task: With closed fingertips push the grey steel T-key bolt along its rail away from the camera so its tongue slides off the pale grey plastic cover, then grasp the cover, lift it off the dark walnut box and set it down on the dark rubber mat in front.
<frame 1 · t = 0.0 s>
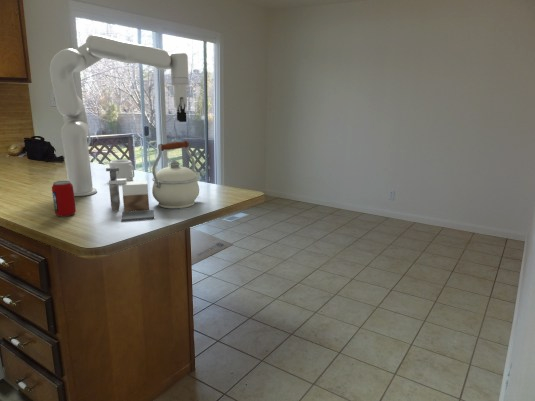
hand: (181, 121, 176), 31 cm above the countertop, fingers open, 9 cm apart
mat: (138, 216, 138), on the countertop
cover: (135, 193, 147), point 6 cm above the countertop, touching housing
housing: (136, 208, 149), on the countertop
kettle: (179, 203, 157), on the countertop
latch: (116, 175, 144), point 13 cm above the countertop, slide at 0.0 cm
beverage can: (66, 215, 140), on the countertop
mug: (124, 180, 197), on the countertop
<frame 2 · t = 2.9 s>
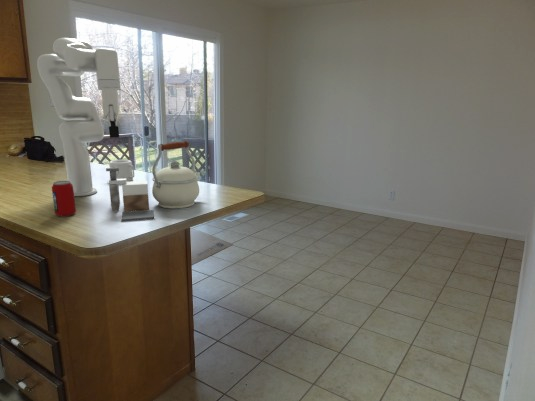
hand: (114, 137, 142), 27 cm above the countertop, fingers closed
nothing on the countertop moved.
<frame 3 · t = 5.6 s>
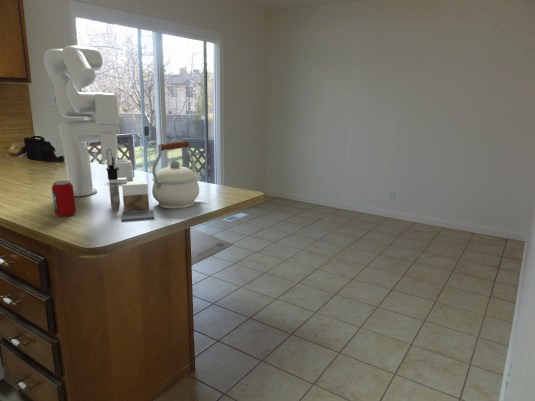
hand: (112, 179, 142), 12 cm above the countertop, fingers closed
latch: (116, 174, 145), point 13 cm above the countertop, slide at 1.6 cm, touching gripper
everything else where it was.
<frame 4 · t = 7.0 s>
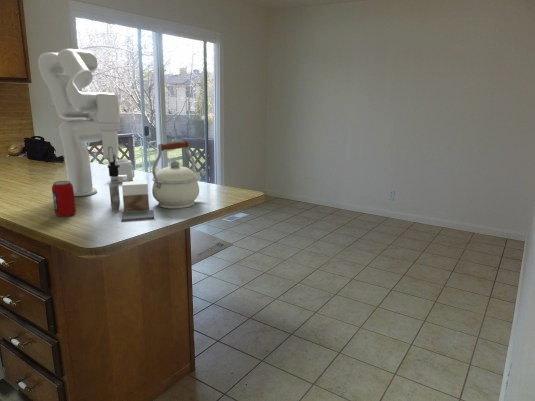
hand: (114, 175, 147), 12 cm above the countertop, fingers closed
latch: (117, 172, 150), point 13 cm above the countertop, slide at 7.5 cm, touching gripper
everything else where it was.
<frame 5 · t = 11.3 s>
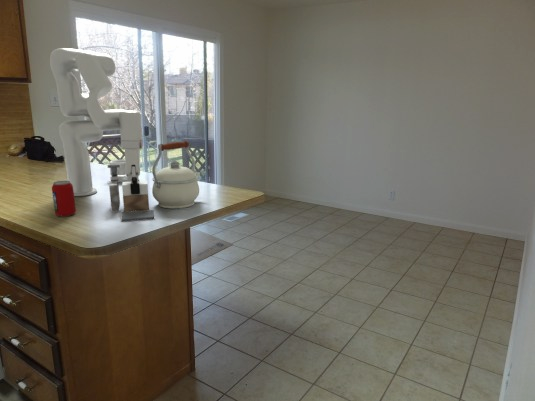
hand: (135, 191, 147), 7 cm above the countertop, fingers closed on cover, 6 cm apart
cover: (135, 193, 147), point 6 cm above the countertop, touching gripper, housing
latch: (117, 172, 150), point 13 cm above the countertop, slide at 7.5 cm
everything else where it was.
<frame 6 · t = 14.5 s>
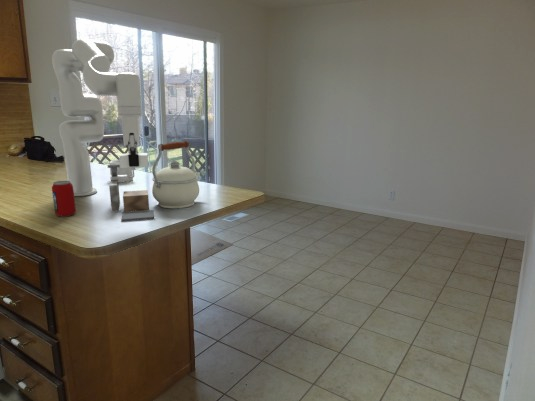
hand: (134, 164, 133), 19 cm above the countertop, fingers closed on cover, 6 cm apart
cover: (134, 165, 134), point 18 cm above the countertop, touching gripper
everything else where it was.
when the fingers open (3 cm above the countertop, at t = 17.7 s): cover drops 2 cm, resting on mat.
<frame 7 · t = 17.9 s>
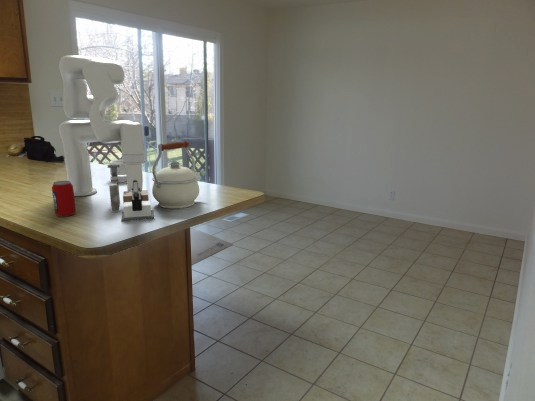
hand: (137, 207, 137), 4 cm above the countertop, fingers open, 8 cm apart
cover: (138, 214, 138), point 1 cm above the countertop, touching mat
everything else where it was.
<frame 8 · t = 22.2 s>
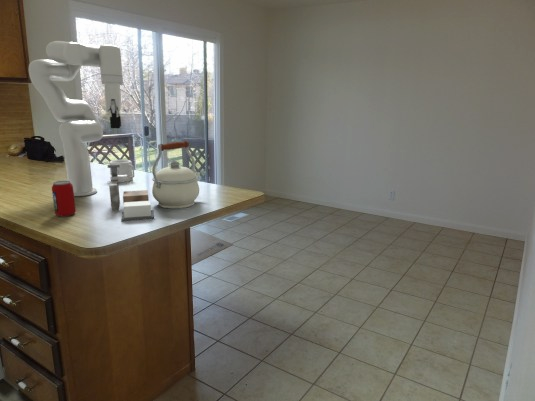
hand: (116, 127, 148), 30 cm above the countertop, fingers open, 9 cm apart
nothing on the countertop moved.
at the end: latch slide at 7.5 cm; cover inside the target area on the mat (0.2 cm from its centre), point 0.8 cm above the mat's base; cover tilted 0° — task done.
